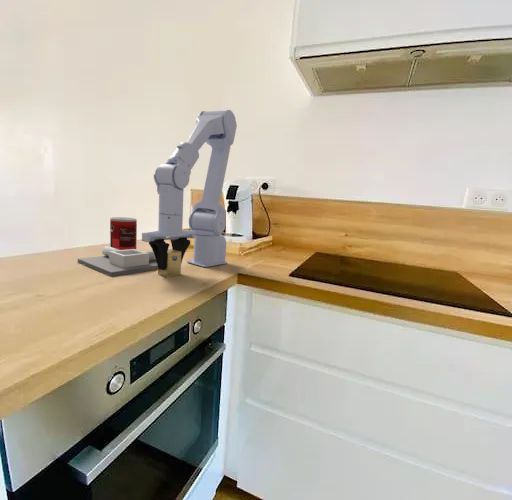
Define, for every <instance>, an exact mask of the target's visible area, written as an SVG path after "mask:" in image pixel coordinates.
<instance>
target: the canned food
mask: <svg viewBox="0 0 512 500" xmlns="http://www.w3.org/2000/svg"><path fill="white" fill-rule="evenodd" d="M109 219H110V222H109V229H110V231H109V234H110V235H109V239H110V244H109V245H110V246H109V247H112V248H116V249H119V250H129V249H136V250H137V237H138V236H137V235H138V233H137V232H138V231H137V230H138V229H137V227H138V225H137V218H135V217H125V216H124V217H121V216H118V217H110V218H109Z"/></svg>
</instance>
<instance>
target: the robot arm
mask: <svg viewBox="0 0 512 500" xmlns="http://www.w3.org/2000/svg"><path fill="white" fill-rule="evenodd" d="M197 115H198V116H196V118H195V123H196V125H195V127H194V129H193V131H192V132H191V134H190V135H189V138H188V139H187V141H183V142H180V143H178V144H177V145H176V149H175V150H174V151H173V153H171V155H170V156H169V158H167V160H166V162H165V163H163V164H160V165H158V167H156V169H155V172H154V173H153V180H154V182H155V185H156V192H157V194H158V229H157V231H156V230H155V231H148V232H141V241H142V242H144V243H145V242H146V243H148V245H149V246H150V248H151V249H152V250H151V251H153V252H154V255H155V258H156V261H157V265H158V269H161V270H165V268H166V256H167V251H168V249H170V248H169V247H170V243H171V247H172V248H171V249H173V250H177V251H181V264H182V262H183V259H184V257H185V254H186V251H187V249H188V248H189V247H190V245H191V240H190V239H193V259H189V260H187V261H186V262H187V263H189V264H192V265H196V266H200V267H203V268H207V267H208V268H209V267H214V266H218V265H225V264H227V263H228V261H226V256H227V254H226V253H227V241H226V237H225V236H224V235H223V234H222V233H224V231H225V229H226V228H227V227H226V226H227V219H226V218H227V210H226V208H225V207H224V206H223V205H222V204H221V203H220V202H221V197H222V191H223V187H224V182H225V178H226V172H227V166H228V162H229V157H230V152H231V146H232V145H233V144H234V142H235V136H236V133H237V132H236V130H237V127H238V126H237V121H236V116H235V114H234V112H233V111H232V110H231V109H226V110H213V111H211V110H210V111H205V110H202V111H200V112H199V113H198V114H197ZM205 143H206V144H207V145H208V146H210V147H211V151H210V157H209V161H208V162H209V164H208V167H207V173H206V178H205V182H204V187H203V192H202V197H201V200H199V201H197V202H196V203H195V204H194V205H193V207H192V211H191V213H190V214H189V217H188V226H189V230H186V229H185V230H183V220H184V219H183V217H184V215H183V213H184V190H185V188H186V187H188V185H189V184H190V177H191V176H190V175H191V174H192V169H193V168H194V166H195V164H196V163H197V161H198V160H199V158H200V153H199V150H201V148H202V147H203V145H204V144H205ZM168 240H169V241H170V243H168V242H166V241H168ZM158 269H157V270H158Z"/></svg>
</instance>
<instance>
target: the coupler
mask: <svg viewBox="0 0 512 500" xmlns="http://www.w3.org/2000/svg"><path fill="white" fill-rule="evenodd" d="M181 271H182V263H181V251H177V250H173V249H172V248H168V251H167V256H166V268H165V270H161V269H157V274H158V275H160V276H163V277H166V278H170V277H175V276H181V275H182V272H181Z"/></svg>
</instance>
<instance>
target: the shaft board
mask: <svg viewBox="0 0 512 500" xmlns="http://www.w3.org/2000/svg"><path fill="white" fill-rule="evenodd" d="M101 253H102V256H101V255H100V256H91V257H90V256H89V257H82V258H81V257H80V258H77V263H79V264H81V265H83V266H86V267H88V268H90V269H93V270H95V271H97V272H100V273H101V274H105V275H106V276H107V275H108V276H109V277H115V276H116V277H117V276H123V275H129V274H134V273H135V274H136V273H141V272H149V271H154V270H158V265H157V261H156V258H155V255H154V252H153V250H145V251H142V250H140V249H137V248H136V249H129V250H119V249H116V248H112V247H110V246H109V245H106V246H103V248H102V249H101Z"/></svg>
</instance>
